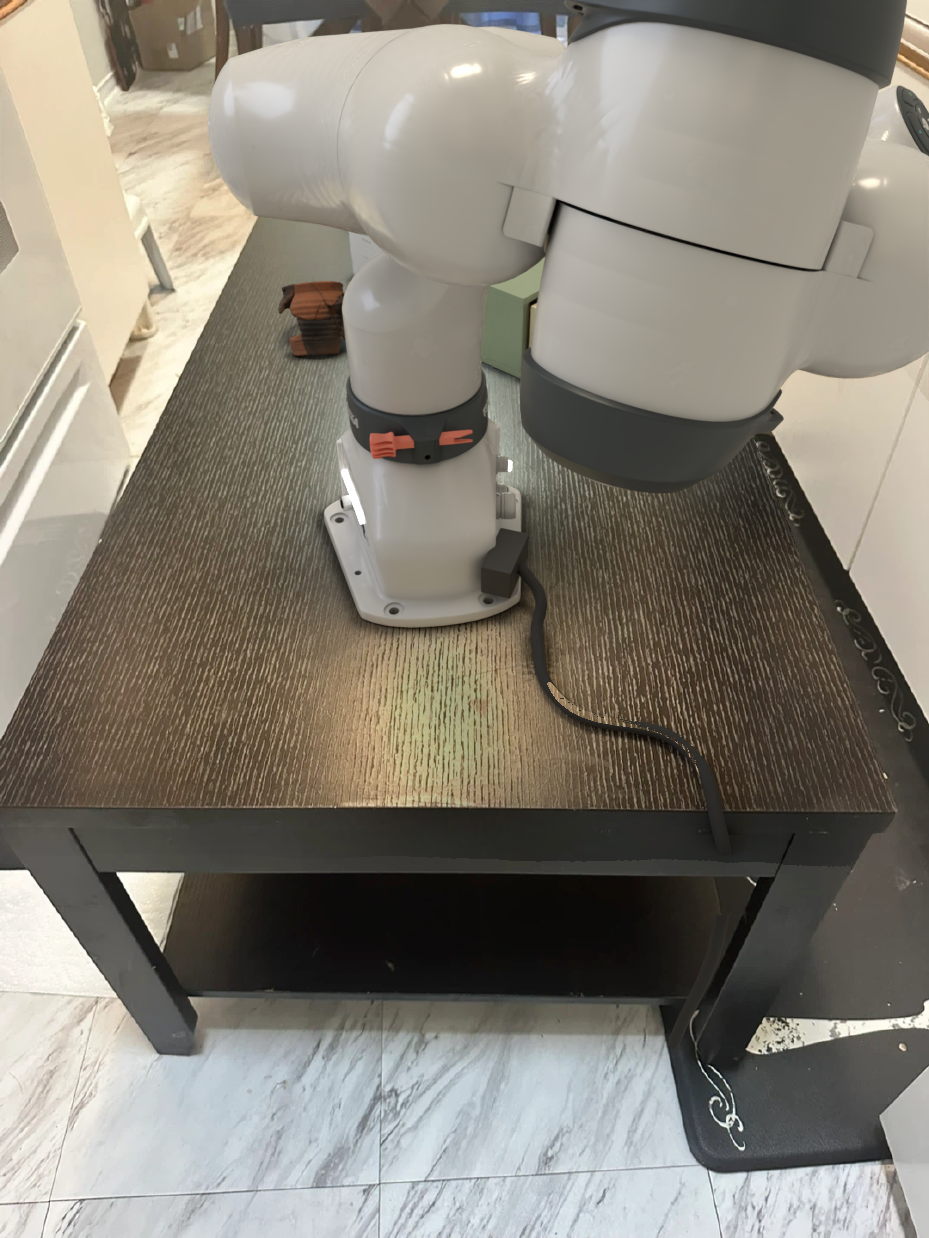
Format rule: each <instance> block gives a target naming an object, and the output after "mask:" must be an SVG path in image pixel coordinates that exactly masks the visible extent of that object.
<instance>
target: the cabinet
mask: <svg viewBox="0 0 929 1238" xmlns="http://www.w3.org/2000/svg"><path fill="white" fill-rule="evenodd" d="M544 260H545V257H544V258H543V259H542V260H541V261H540V262H539V263H537V264H536V265H535V266H533V267H532V268H531V269H529V270H528V271H526V272H525V273H523V274H521V275H519V276H517V277H515V278H514V279H511V280H508V281H505V282H503V283H500V284H495V285H490V286H489V289H488V293H487V298H486V305H485V314H484V324H483V338H482V363H484V364H486V365H488V366H490V367H493V368H495V369H497V370H500V371H501V372H504V373H506V374H509V375H511V376H513V377H515V378H517V379H520V380H521V368H522V357H523V353H524V351H525V350H526V336H527V312H528V304H527V303H529V302H531V301H533V300H535V299H536V298H538V294H539V288H540V281H541V276H542V270H543V265H544Z"/></svg>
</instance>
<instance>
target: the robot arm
mask: <svg viewBox="0 0 929 1238" xmlns="http://www.w3.org/2000/svg"><path fill="white" fill-rule="evenodd" d="M563 4H564V6H565V8H566V9H567V10H568V11H570V12H571V13H573V14H575V15H576V16H578V17H581V19H580V21H579V23H578V24H577V26H576V27H575V29H574V30H573V32H572V33H571V34H570V36H569V37H568V38H567V40H566V41H567V42H568V43H569V44H568V45H567V47H566V46H565V45H564V44H563V43H562V42H561V40H559V39H558V38H556V37H553V36H548V35H544V34H538V33H533V32H529V31H524V30H523V31H522V30H518V29H511V28H505V27H498V26H471V25H466V24H454V23H441V24H439V23H438V24H432V25H425V26H421V27H420V26H419V27H413V28H403V29H390V30H389V29H388V30H378V31H365V32H353V33H341V34H330V35H329V34H328V35H316V36H306V37H300V38H295V39H292V40H287V41H283V42H279V43H275V44H272V45H267V46H264V47H261V48H257V49H254V50H251V51H247V52H245V53H242V54H239V55H235V56H232V57H230V58H228V59H227V60H226V62H225V63H224V65H223V67H222V68H221V70H220V71H219V73H218V74H217V77H216V79H215V82H214V84H213V86H212V90H211V94H210V97H209V102H208V107H207V108H208V109H207V136H208V142H209V147H210V153H211V155H212V158H213V161H214V162H213V163H214V164H215V166H216V169H217V171H218V174H219V176H220V177H221V179H222V181H223V183H224V185H225V186H226V187H227V189H228V190H229V192H230V193H231V195H232V196H233V197H234V198H235V199H236V200H237V201H238V203H239V204H241V205H242V207H244V208H245V210H247V211H248V212H249V213H250V214H251V215H253V216H254V217H258V218H265V219H272V220H273V219H274V220H282V221H288V222H289V221H290V222H297V223H305V224H313V225H320V226H325V227H329V228H334V229H338V230H342V231H345V232H348V233H349V232H352V233H356V234H361V235H366V236H369V237H370V238H371V240H372V241H373V242H374V243H375V244H376V245H377V246H378V247H379V248H380V249H381V250H382V252H380V253H379V254H377V255H376V256H374V257H372V258H371V259H370V260H368V261H367V262H366V263H365V264H364V265H363V266H362V267H361V268H360V269H359V270H358V271H357V273H356V274H355V275H354V274H353V277H352V278H351V279H350V281H349V282H348V285H347V287H346V289H345V291H344V298H343V303H342V314H343V323H344V331H345V340H346V341H345V340H344V341H345V347H346V355H347V364H348V365H347V366H348V374H349V375H348V377H347V380H346V383H345V388H346V393H345V403H346V404H345V405H346V411H347V414H348V421H349V426H348V427H347V429H346V430H345V431H344V433H342V435H341V436H340V437H339V439H337V440H336V442H335V443H336V453H337V461H338V471H339V478H340V479H339V480H340V487H341V496H340V498H339V499H338V500H336V501H334V502H331V503H330V504H329V505H328V506H327V507H326V508H325V509H324V512H323V522H324V525H325V527H326V530H327V533H328V535H329V539H330V541H331V544H332V546H333V549H334V551H335V554H336V557H337V560H338V562H339V565H340V567H341V570H342V573H343V576H344V578H345V581H346V582H347V583H346V584H347V586H348V589H349V591H350V594H351V597H352V599H353V603H354V604H355V608H356V610H357V613H358V614H359V616H360V618H361V619H362V620H365V621H368V622H371V623H374V624H377V625H382V626H386V627H394V628H395V627H396V628H431V627H432V628H433V627H444V626H451V625H458V624H464V623H469V622H474V621H479V620H483V619H486V618H490V617H493V616H495V615H497V614H500V613H502V612H504V611H506V610H508V609H510V608H512V607H513V606H514V605H516V604H517V603H519V602H520V601H521V595H522V594H521V593H522V591H521V590H522V581H523V582H524V583H525V584H526V586H527V587H528V588H529V590H530V592H531V593H532V595H533V599H534V611H533V614H532V618H531V622H530V640H531V653H532V662H533V667H534V672H535V675H536V679H537V681H538V683H539V685H540V687H541V688H542V690H543V692H544V694H545V695H546V696H547V697H548V699H549V700H550V701H551V702H552V703H553V704H554V705H555V706H556V707H557V708H558V710H560V711H561V712H563V713H564V714H565V715H567V716H568V717H569V718H571V719H573V720H574V721H577V722H579V723H581V724H583V725H587V726H588V727H589V726H590V727H594V728H597V729H601V730H608V731H612V732H613V731H615V732H623V733H628V734H635V735H636V734H637V735H642V736H646V737H650V738H654V739H656V740H660V741H662V742H664V743H666V744H668V745H670V746H672V747H673V748H674V749H676V750H677V752H679V753H680V754H681V755H683V756H684V757H685V759H686V760H687V761H688V762H690V764H691V766H692V767H693V768H694V770H695V771H696V768H695V766H694V763H693V762H692V760H691V758H690V757H689V755H688V754H687V752H686V751H685V750H684V749H683V748H682V747H681V746H680V745H678V744H677V743H676V742H677V741H679V742H678V743H681V744H683V746H685V748H688V749H687V750H689V752H688V753H691V754H693V755H692V757H693V756H694V757H693V759H694V760H696V761H695V762H696V763H695V764H696V766H697V768H698V770H699V774H700V777H699V780H700V779H701V780H700V783H701V786H702V790H703V794H704V799H705V804H706V809H707V810H706V811H707V815H708V819H709V824H710V829H711V832H712V836H713V840H714V846H715V849H716V850H717V852H718V853H719V854H720V855H721V856H724V857H728V856H730V855H731V854H732V844H731V841H730V836H729V831H728V828H727V824H726V819H725V814H724V810H723V805H722V800H721V796H720V791H719V786H718V784H717V781H716V778H715V775H714V773H713V770H712V768H711V767H710V765H709V763H708V761H707V759H705V757H704V756H703V755H702V756H701V755H700V753H701V752H700V751H699V750H698V751H699V752H700V753H699V752H698V751H696V749H697V748H696V749H694V747H695V746H694V745H693V746H694V747H693V746H691V745H690V744H689V743H688V742H687V741H689V740H687V739H686V738H685V737H683V736H682V735H680V734H679V733H678V732H676V731H674V730H672V729H670V728H668V727H665V726H663V725H660V726H658V725H659V724H657V725H654V724H655V723H653V724H652V722H649V723H646V722H647V721H644V722H639V721H640V720H639V719H637V720H638V721H635V722H633V720H634V719H631V720H632V721H629V722H631V723H630V724H636V725H638V724H640V725H638V727H644V728H647V727H649V728H648V729H649V730H653V731H656V732H659V733H662V734H664V735H667V737H669V738H671V737H672V738H675V739H674V741H676V742H674V741H673V740H671V739H669V738H667V737H665V736H664V735H661V734H658V733H655V732H652V731H647V730H643V729H637V728H630V727H623V726H615V725H609V724H603V723H598V722H594V721H591V720H588V719H585V718H582V717H580V716H578V715H576V714H574V713H572V712H570V711H569V710H568V709H566V708H565V707H564V706H562V705H561V704H560V703H559V702H558V701H557V700H556V699H555V697H554V696H553V694H552V693H551V691H550V689H549V687H548V685H547V683H548V682H551V683H552V684H553V685H554V686H555V687H556V688H557V689H558V690H559V691H560V692H561V690H560V689H559V688H558V687H557V686H556V684H555V683H554V681H553V680H552V678H551V676H550V672H549V671H548V670H549V669H548V666H547V660H546V651H545V639H544V623H545V619H546V616H547V611H548V599H547V594H546V591H545V589H544V586H543V585H542V583H541V582H540V580H539V579H538V577H537V576H536V575H535V574H534V572H532V570H531V569H530V568H529V566H528V565H527V562H528V559H529V545H530V533H528V532H524V531H522V518H523V517H522V508H523V506H522V505H523V503H522V494H521V492H520V490H519V489H517V488H515V487H513V486H511V485H508V484H507V483H502V482H500V473H508V472H511V471H513V461H512V460H510V459H509V456H504V455H503V456H500V447H501V445H500V443H501V442H500V441H501V426H500V425H498V424H497V423H496V422H495V421H493V420H492V419H491V418H489V389H488V385H487V375H486V373H485V371H484V370H483V368H482V367H483V362H482V338H483V324H484V314H485V305H486V298H487V293H488V289H489V286H490V285H495V284H500V283H503V282H505V281H508V280H511V279H514V278H515V277H517V276H519V275H521V274H523V273H525V272H526V271H528V270H529V269H531V268H532V267H533V266H535V265H536V264H537V263H539V262H540V261H541V260H542V259H543V258H544V257H545V260H544V265H543V270H542V276H541V281H540V288H539V294H538V301H537V307H536V314H535V322H534V330H533V339H532V347H530V348H528V349H526V350H525V351H524V353H523V357H522V368H521V379H520V380H519V381H520V382H519V383H520V384H519V411H520V419H521V420H520V421H521V425H522V428H523V430H524V431H525V433H526V434H527V436H529V438H530V439H531V440H532V442H533V443H534V444H535V446H536V447H537V448H538V449H539V451H540V452H541V453H542V454H544V455H545V457H547V458H548V459H550V460H551V461H553V462H554V463H556V464H557V465H559V466H561V467H563V468H564V469H566V470H569V471H570V472H573V473H575V474H577V475H579V476H581V477H583V478H585V479H587V480H589V481H592V482H594V483H596V484H600V485H601V486H602V485H603V486H605V487H610V488H614V489H619V490H624V491H633V492H639V493H646V494H647V493H648V494H674V493H678V492H681V491H684V490H687V489H689V488H691V487H693V486H694V485H697V484H699V483H701V482H703V481H705V480H707V479H709V478H710V477H713V476H715V475H716V474H718V473H719V472H721V471H723V469H724V468H725V467H727V465H729V463H731V461H732V460H733V459H734V458H736V456H737V455H738V454H739V453H740V452H741V451H742V449H744V447H745V446H746V445H747V444H748V443H749V441H750V440H751V439H752V438H753V437H755V436H756V435H759V434H765V433H771V432H773V431H775V430H776V429H777V428H778V427H779V425H780V424H781V423H782V422H783V421H784V419H785V418H784V416H783V415H782V414H781V413H780V412H779V411H778V410H777V409H776V408H774V407H775V405H777V403H778V401H779V399H780V397H781V396H782V394H783V390H782V387H783V386H784V384H785V383H786V382H787V380H788V379H789V378H790V377H791V376H792V375H793V374H794V373H795V372H797V371H801V372H805V373H809V374H811V375H815V376H820V377H824V378H831V379H846V380H847V379H848V380H849V379H850V380H852V379H853V380H855V379H856V380H857V379H866V378H873V377H874V378H875V377H878V376H882V375H886V374H889V373H892V372H894V371H898V370H899V369H902V368H904V367H906V366H908V365H910V364H912V363H914V362H915V361H917V360H919V359H920V358H922V357H923V356H925V355H926V354H927V353H929V110H928V109H927V107H926V106H925V104H924V102H923V101H922V100H921V99H920V98H919V97H918V96H917V94H916V93H915V92H914V91H913V90H911V89H910V88H907V87H905V86H903V85H900V84H896V85H892V86H890V85H891V84H892V81H893V75H894V72H895V69H896V65H897V60H898V57H899V52H900V47H901V41H902V37H903V32H904V27H905V20H906V19H905V18H906V12H907V5H908V0H564V1H563ZM889 86H890V87H889ZM883 89H884V90H883ZM880 90H882V91H880ZM566 698H567V699H568V700H570V699H569V698H568V697H566ZM560 699H564V698H560ZM568 703H570V702H568ZM572 705H573V704H572ZM575 705H576V706H578V705H577V704H575ZM585 710H586V709H585ZM579 711H581V710H579ZM586 711H588V710H586ZM594 713H595V712H594ZM595 714H597V713H595ZM595 714H594V715H595ZM597 717H598V716H597ZM615 717H616V716H615ZM601 718H604V717H601ZM616 718H618V717H616ZM624 719H626V718H624ZM620 720H623V719H620ZM624 721H628V720H624ZM624 721H623V722H624ZM615 722H616V721H615ZM629 722H626V723H629ZM637 722H638V723H637ZM650 723H651V724H650ZM646 724H647V725H646ZM661 726H662V727H661ZM664 727H665V728H664ZM667 728H668V729H667ZM654 729H655V730H654ZM669 729H670V730H669ZM671 730H672V731H671ZM675 732H676V733H675ZM677 733H678V734H677ZM680 736H682V737H683V738H682V737H680ZM684 738H685V739H686V740H687V741H686V740H685V739H684ZM703 757H704V758H703ZM729 919H730V913H726V914H720V915H719V914H718V915H714V916H713V923H712V929H711V933H710V938H709V942H708V946H707V949H706V952H705V955H704V959H703V962H702V965H701V967H700V969H699V972H698V975H697V977H696V978H695V979H696V980H695V982H694V983H693V986H692V988H691V989H690V992H689V994H688V996H687V998H686V1000H685V1001H684V1004H683V1006H682V1008H681V1010H680V1012H679V1014H678V1016H677V1019H676V1020H675V1023H674V1025H673V1028H672V1030H671V1033H670V1036H669V1039H668V1042H667V1044H668V1045H667V1046H668V1047H669V1049H671V1050H672V1051H675V1050H678V1049H679V1047H680V1045H681V1043H682V1041H683V1037H684V1035H685V1032H686V1030H687V1028H688V1026H689V1024H690V1022H691V1020H692V1018H693V1016H694V1014H695V1012H696V1010H697V1008H698V1006H699V1005H700V1003H701V1001H702V1000H703V997H704V995H705V993H706V991H707V990H708V987H709V986H710V983H711V981H712V980H713V975H714V974H715V971H716V969H717V966H718V964H719V960H720V957H721V955H722V951H723V946H724V943H725V939H726V935H727V930H728V925H729Z"/></svg>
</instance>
